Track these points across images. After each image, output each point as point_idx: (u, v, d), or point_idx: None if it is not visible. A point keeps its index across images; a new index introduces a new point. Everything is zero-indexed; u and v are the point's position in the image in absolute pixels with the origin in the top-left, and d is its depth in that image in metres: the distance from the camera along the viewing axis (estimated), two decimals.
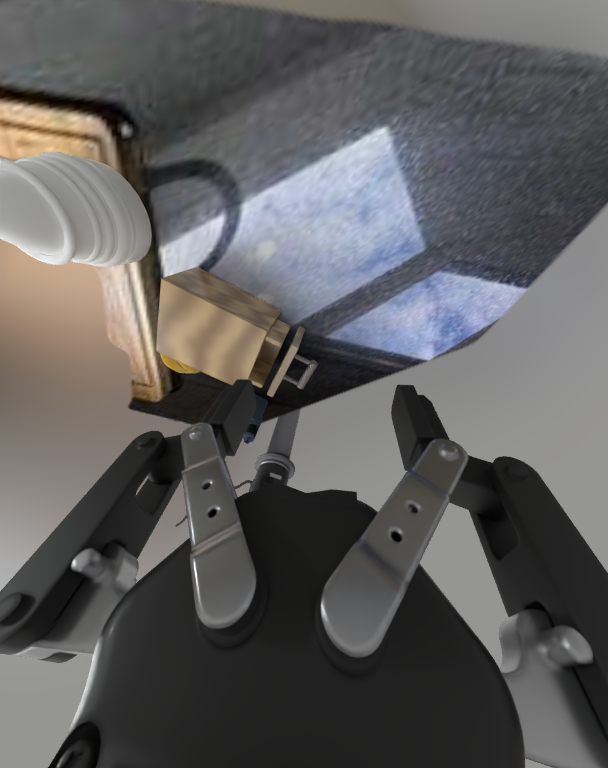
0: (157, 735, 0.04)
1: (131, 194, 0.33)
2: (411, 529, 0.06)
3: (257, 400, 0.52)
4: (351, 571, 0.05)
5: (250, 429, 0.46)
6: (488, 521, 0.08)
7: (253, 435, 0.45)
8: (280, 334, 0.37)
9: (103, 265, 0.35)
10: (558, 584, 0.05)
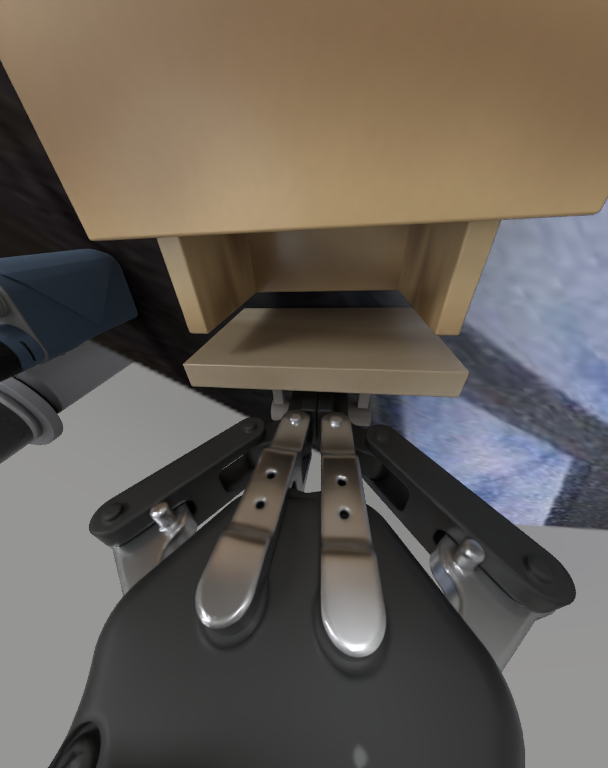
0: (157, 735, 0.04)
1: None
2: (349, 499, 0.06)
3: (110, 289, 0.16)
4: (333, 577, 0.05)
5: None
6: (381, 483, 0.09)
7: None
8: None
9: None
10: (445, 511, 0.06)
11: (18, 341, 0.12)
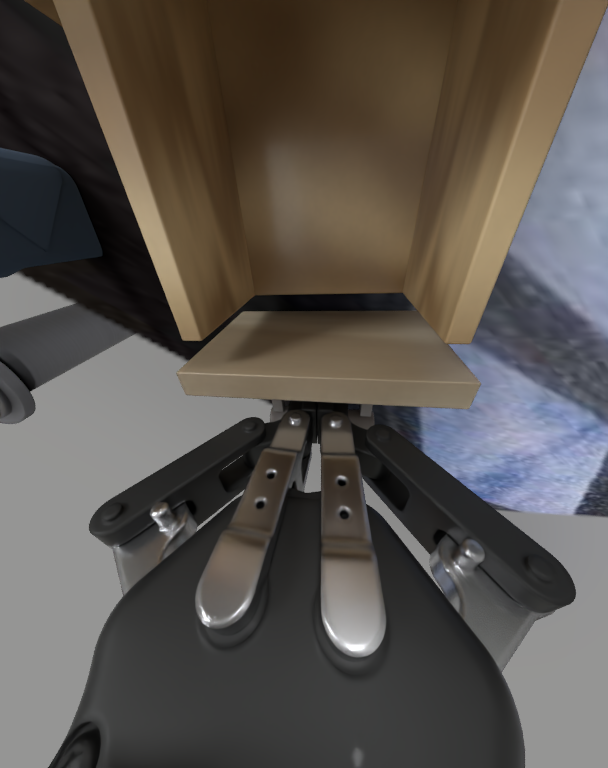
0: (157, 735, 0.04)
1: None
2: (349, 499, 0.06)
3: (61, 210, 0.13)
4: (333, 577, 0.05)
5: None
6: (381, 483, 0.09)
7: None
8: None
9: None
10: (446, 511, 0.06)
11: None
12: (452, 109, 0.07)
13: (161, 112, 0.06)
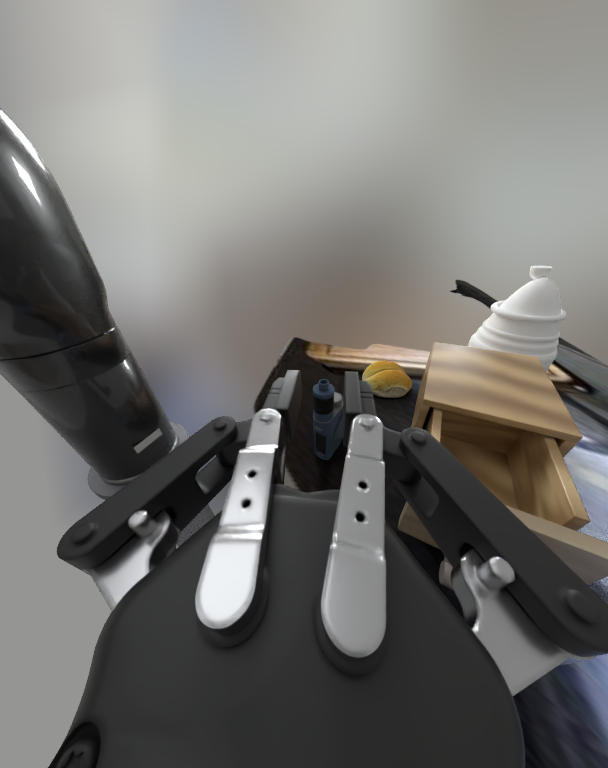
0: (157, 735, 0.04)
1: None
2: (368, 503, 0.06)
3: (337, 440, 0.31)
4: (338, 573, 0.05)
5: (333, 398, 0.25)
6: (411, 487, 0.09)
7: (328, 397, 0.24)
8: None
9: (479, 343, 0.43)
10: (476, 524, 0.06)
11: (333, 411, 0.27)
12: (523, 479, 0.23)
13: None
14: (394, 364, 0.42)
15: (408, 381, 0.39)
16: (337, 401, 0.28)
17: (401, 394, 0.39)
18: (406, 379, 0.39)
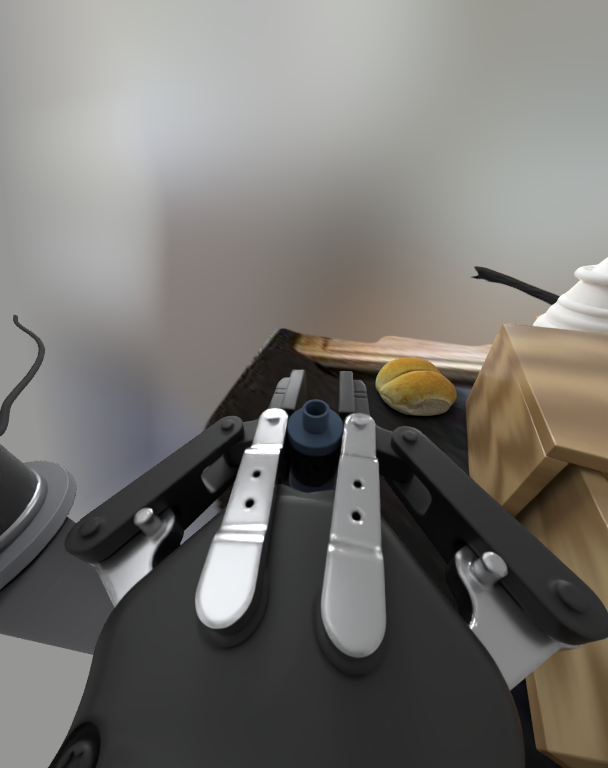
0: (157, 735, 0.04)
1: None
2: (363, 502, 0.06)
3: None
4: (336, 574, 0.05)
5: None
6: (404, 485, 0.09)
7: (328, 450, 0.09)
8: None
9: None
10: (468, 521, 0.06)
11: None
12: None
13: None
14: (425, 362, 0.27)
15: (452, 390, 0.24)
16: None
17: (441, 410, 0.24)
18: (448, 386, 0.24)
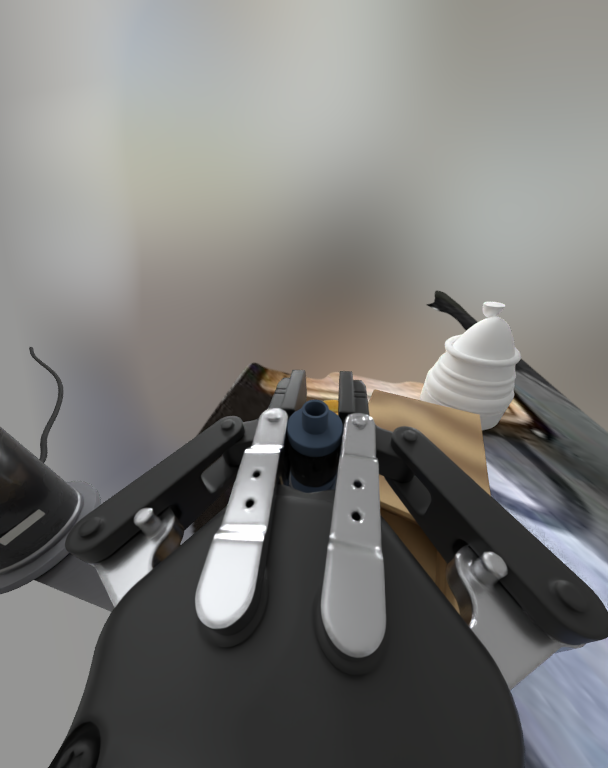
0: (157, 735, 0.04)
1: (495, 422, 0.37)
2: (363, 502, 0.06)
3: None
4: (336, 574, 0.05)
5: (339, 448, 0.10)
6: (403, 485, 0.09)
7: (328, 451, 0.09)
8: None
9: (433, 382, 0.39)
10: (468, 521, 0.06)
11: None
12: (441, 583, 0.19)
13: None
14: None
15: None
16: None
17: None
18: None
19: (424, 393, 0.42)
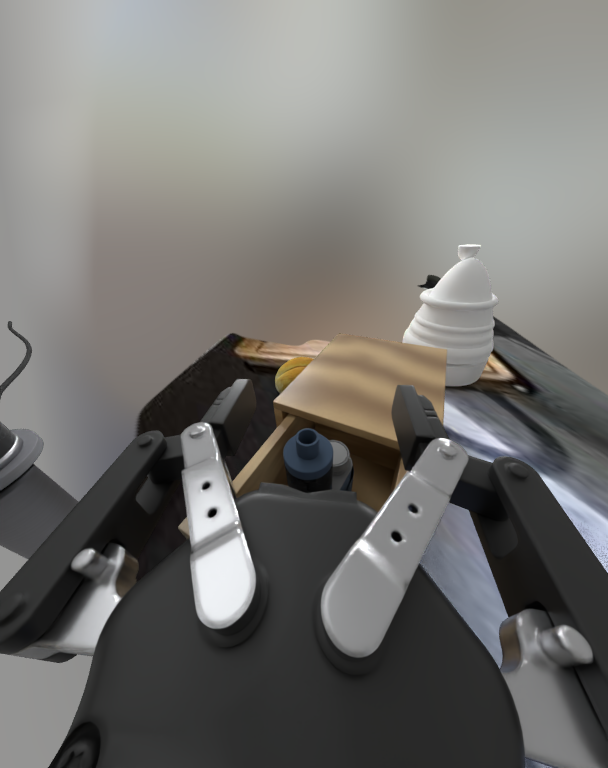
0: (157, 735, 0.04)
1: (473, 376, 0.35)
2: (411, 529, 0.06)
3: None
4: (351, 571, 0.05)
5: (331, 470, 0.11)
6: (488, 521, 0.08)
7: (319, 474, 0.10)
8: None
9: (409, 337, 0.37)
10: (558, 585, 0.05)
11: None
12: None
13: None
14: (310, 361, 0.37)
15: None
16: (339, 464, 0.13)
17: None
18: None
19: None
